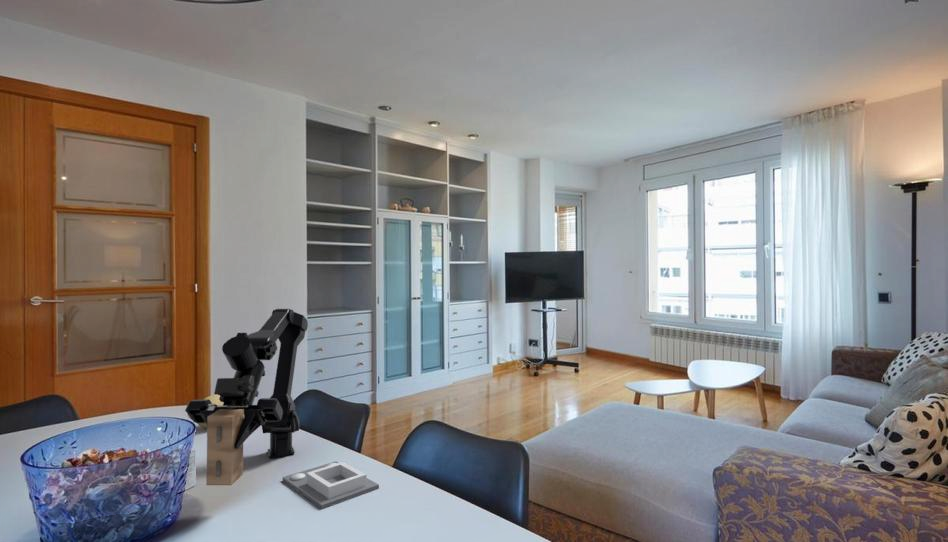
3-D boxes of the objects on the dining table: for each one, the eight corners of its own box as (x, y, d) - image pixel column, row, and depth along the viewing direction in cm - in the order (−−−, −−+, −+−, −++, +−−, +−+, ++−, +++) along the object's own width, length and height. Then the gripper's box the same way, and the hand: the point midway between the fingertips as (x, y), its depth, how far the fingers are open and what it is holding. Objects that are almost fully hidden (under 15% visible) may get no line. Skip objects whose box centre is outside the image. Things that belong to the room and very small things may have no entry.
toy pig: (181, 431, 149) (181, 398, 149) (217, 421, 159) (217, 390, 160) (200, 436, 144) (200, 401, 145) (235, 425, 155) (235, 393, 155)
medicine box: (196, 485, 109) (197, 448, 109) (179, 494, 104) (180, 455, 105) (170, 482, 111) (170, 445, 111) (152, 490, 106) (153, 452, 107)
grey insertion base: (282, 480, 111) (282, 466, 111) (336, 464, 121) (336, 451, 121) (321, 509, 97) (322, 493, 97) (378, 488, 107) (378, 473, 107)
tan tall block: (219, 474, 99) (220, 409, 99) (242, 474, 99) (243, 409, 99) (204, 487, 93) (205, 417, 93) (229, 487, 94) (230, 418, 93)
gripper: (190, 362, 100) (158, 430, 89) (278, 361, 102) (258, 427, 90) (208, 390, 108) (181, 456, 97) (290, 389, 109) (272, 453, 98)
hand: (222, 448), depth 95 cm, fingers closed on tan tall block, 5 cm apart
